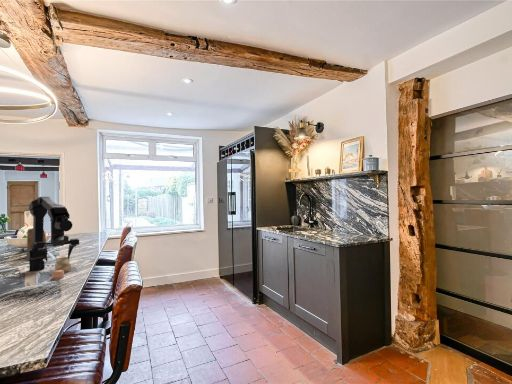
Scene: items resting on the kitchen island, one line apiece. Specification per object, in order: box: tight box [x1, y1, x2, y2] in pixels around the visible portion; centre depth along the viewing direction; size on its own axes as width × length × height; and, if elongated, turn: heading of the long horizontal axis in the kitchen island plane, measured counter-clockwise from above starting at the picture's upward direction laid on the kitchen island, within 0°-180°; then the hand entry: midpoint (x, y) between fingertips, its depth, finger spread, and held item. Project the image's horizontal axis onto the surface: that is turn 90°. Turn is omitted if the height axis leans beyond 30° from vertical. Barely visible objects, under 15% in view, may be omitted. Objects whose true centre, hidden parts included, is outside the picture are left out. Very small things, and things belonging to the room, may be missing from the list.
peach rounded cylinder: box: [51, 270, 65, 280], centre depth 147 cm, size 5×5×4 cm
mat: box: [48, 266, 78, 276], centre depth 161 cm, size 13×13×1 cm
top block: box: [55, 254, 71, 265], centre depth 161 cm, size 6×6×4 cm
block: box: [26, 227, 47, 253], centre depth 203 cm, size 11×8×20 cm
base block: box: [54, 262, 72, 272], centre depth 161 cm, size 7×7×4 cm
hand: (57, 260), depth 147 cm, fingers open, 9 cm apart
